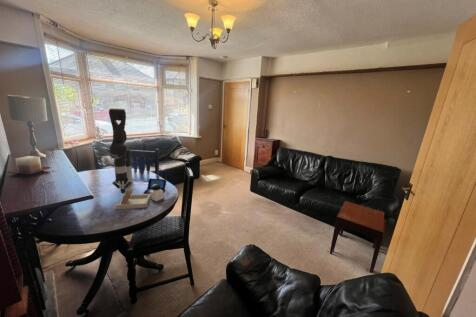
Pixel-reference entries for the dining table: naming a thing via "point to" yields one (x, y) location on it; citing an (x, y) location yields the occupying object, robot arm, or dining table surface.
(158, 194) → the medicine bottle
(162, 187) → the handheld game console
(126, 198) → the slab
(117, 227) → the dining table surface
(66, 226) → the dining table surface
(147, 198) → the tray
